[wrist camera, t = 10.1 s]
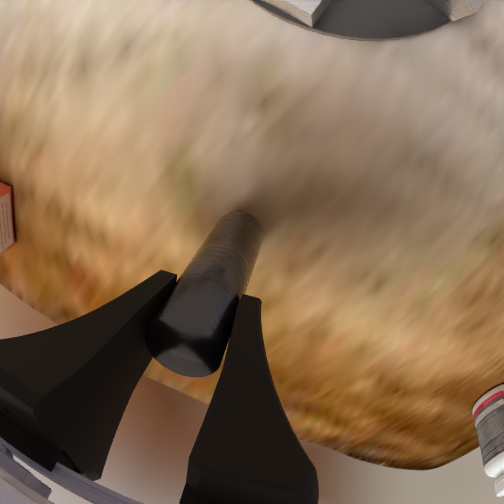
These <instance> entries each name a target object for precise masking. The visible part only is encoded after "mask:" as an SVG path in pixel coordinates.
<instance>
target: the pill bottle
mask: <svg viewBox="0 0 504 504" xmlns="http://www.w3.org/2000/svg"><path fill="white" fill-rule="evenodd" d="M472 413H473V418H474V423H475V426H476V430H477V435H478V439H479V444H480V449H481V454H482V459H483V464H484V470H485V473H486V474H487V475H488V476H490V477H496V479H497V480H496V481H495V485H494V487H495V490H496V495H497V496H498V497H499V496H503V495H504V384H502V385H499V386H497V387H495V388H493V389H492V390H490V391H489V392H487V393H486V394H484V395H483V396H482V397H481V398H480V399H479V400H478V401H477V402H476V403H475V405H474V407H473V411H472Z"/></svg>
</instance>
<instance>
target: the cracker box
mask: <svg viewBox="0 0 504 504" xmlns="http://www.w3.org/2000/svg"><path fill="white" fill-rule="evenodd" d="M13 245H15V239H14V229H13V217H12V198H11V186H8V185H6V184H4V183H2V182H0V256H1V255H2V254H3V253H4V252H6V251H7V250H8V249H10V248H11V247H12V246H13Z"/></svg>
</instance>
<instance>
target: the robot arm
mask: <svg viewBox="0 0 504 504" xmlns="http://www.w3.org/2000/svg"><path fill="white" fill-rule="evenodd" d="M176 281H177V274H173V273H170V272H167V271H164V270H161V271H159V272H157V273H155V274H154V275H152V276H151V277H149V278H148V279H146V280H145V281H143V282H142V283H140V284H138V285H137V286H135V287H134V288H132V289H130V290H129V291H127V292H126V293H124V294H122V295H121V296H119V297H117V298H116V299H114V300H112V301H110V302H109V303H107V304H105V305H103V306H101V307H99V308H98V309H96V310H94V311H92V312H90V313H88V314H86V315H83V316H81V317H79V318H76V319H74V320H72V321H69V322H66V323H63V324H61V325H58V326H55V327H52V328H49V329H47V330H43V331H39V332H36V333H32V334H28V335H23V336H19V337H13V338H7V339H1V340H0V504H54V503H53V502H51V501H49V500H48V497H49V495H50V493H51V488H49V487H48V486H47V485H45V484H44V483H42V482H41V481H40V480H38V479H37V478H36V477H35V476H34V475H33V474H31V473H30V472H29V471H28V470H27V469H25V468H24V467H23V466H22V465H20V464H19V463H18V462H16V461H15V460H14V459H13V455H14V456H16V457H17V458H19V459H20V460H21V461H23V462H24V463H26V464H27V465H28V466H30V467H31V468H33V469H34V470H36V471H38V472H39V473H40V474H42V475H44V476H45V477H47V478H49V479H50V480H52V481H54V482H55V483H57V484H58V485H60V486H62V487H64V488H65V489H67V490H69V491H71V492H72V493H74V494H76V495H78V496H80V497H82V498H84V499H85V500H88V501H89V502H91V503H93V504H143V503H141V502H138V501H136V500H133V499H130V498H128V497H126V496H123V495H121V494H119V493H117V492H114V491H112V490H110V489H108V488H106V487H104V486H101V485H99V484H97V483H95V482H93V481H95V480H98V479H100V478H101V476H102V472H103V468H104V466H105V462H106V459H107V456H108V453H109V450H110V447H111V445H112V442H113V439H114V436H115V433H116V431H117V428H118V426H119V423H120V421H121V418H122V416H123V413H124V411H125V408H126V406H127V404H128V402H129V399H130V397H131V395H132V392H133V390H134V389H135V387H136V385H137V383H138V381H139V380H140V378H141V376H142V375H143V373H144V371H145V370H146V368H147V366H148V365H149V363H150V361H151V360H152V358H153V356H152V355H151V353H150V352H149V350H148V349H147V346H146V344H145V339H144V334H145V330H146V328H147V326H148V325H149V323H150V322H151V320H152V319H153V317H154V316H155V314H156V313H157V311H158V309H159V308H160V306H161V305H162V303H163V302H164V300H165V299H166V297H167V296H168V294H169V293H170V291H171V290H172V288H173V287H174V285H175V284H176ZM261 303H262V302H261V300H260V299H259V298H256V297H252V296H249V295H245V294H242V296H241V298H240V301H239V303H238V306H237V309H236V314H235V318H234V322H233V327H232V331H231V335H230V339H229V344H228V348H227V352H226V356H225V361H224V366H223V369H222V372H221V375H220V378H219V380H218V383H217V386H216V389H215V391H214V394H213V397H212V400H211V402H210V405H209V408H208V410H207V413H206V416H205V418H204V421H203V424H202V426H201V429H200V431H199V434H198V436H197V439H196V442H195V444H194V447H193V449H192V451H191V454H190V456H189V463H188V471H187V479H186V484H185V487H184V490H183V493H182V496H181V499H180V502H179V503H180V504H318V498H319V492H318V491H319V490H318V479H317V472H316V468H315V467H314V465H313V464H312V462H311V461H310V459H309V458H308V456H307V454H306V453H305V451H304V449H303V448H302V446H301V444H300V442H299V441H298V439H297V437H296V435H295V433H294V431H293V429H292V427H291V425H290V423H289V421H288V418H287V416H286V414H285V412H284V410H283V408H282V405H281V403H280V400H279V397H278V395H277V392H276V389H275V386H274V383H273V380H272V377H271V373H270V369H269V365H268V361H267V357H266V352H265V347H264V341H263V334H262V325H261ZM11 453H12V454H13V455H12V454H11Z"/></svg>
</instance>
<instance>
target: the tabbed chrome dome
mask: <svg viewBox="0 0 504 504" xmlns="http://www.w3.org/2000/svg"><path fill="white" fill-rule="evenodd" d="M261 1H263V2H265V3H267V4H270V5H272V6H274V7H276V8H277V9H279V10H281V11H283V12H285V13H287V14H289V15H291V16H293V17H295V18H296V19H298V20H300V21H302V22H303V23H305V24H307V25H309V26H310V27H313V25H314V24H315V23H316V21H317V20H318V19H319V17H320V16H321V14H322V13H323V12H324V10H325V9H326V8H327V7H328V5H329V4H330V3H331V1H332V0H261ZM428 1H429V2H431V3H432V4H433V5H434V6H435V7H437V8H438V9H439V10H440V11H441V12H443V13H444V14H445V15H446V16H447V17H448V18H450V19H451V20H452V21H455V20H458V19H460V18H463V17H466V16H468V15H471V14H474V13H477V12H478V11H479V9H480V8H481V6H482V5H483V3H484V2H485V0H428Z"/></svg>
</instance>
